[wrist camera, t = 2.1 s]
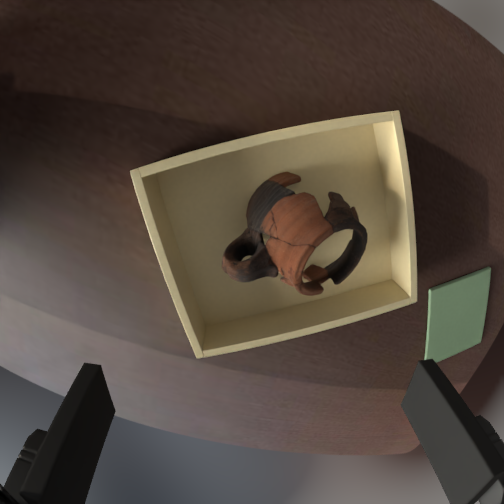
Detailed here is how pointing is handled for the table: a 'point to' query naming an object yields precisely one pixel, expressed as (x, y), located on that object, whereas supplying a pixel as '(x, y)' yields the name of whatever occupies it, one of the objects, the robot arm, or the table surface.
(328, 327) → the cream yellow tray
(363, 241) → the pottery mug
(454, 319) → the mat
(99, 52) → the table surface
